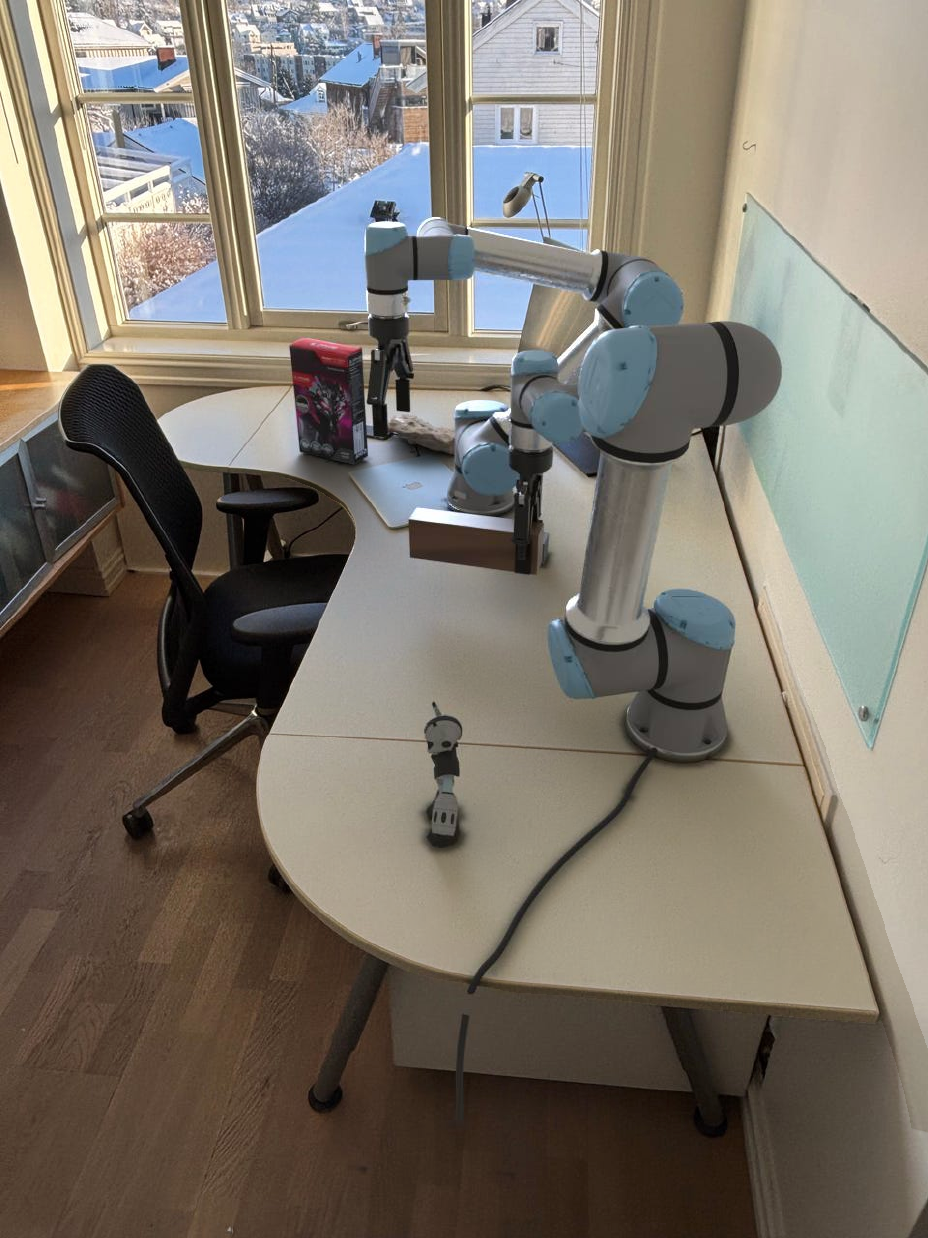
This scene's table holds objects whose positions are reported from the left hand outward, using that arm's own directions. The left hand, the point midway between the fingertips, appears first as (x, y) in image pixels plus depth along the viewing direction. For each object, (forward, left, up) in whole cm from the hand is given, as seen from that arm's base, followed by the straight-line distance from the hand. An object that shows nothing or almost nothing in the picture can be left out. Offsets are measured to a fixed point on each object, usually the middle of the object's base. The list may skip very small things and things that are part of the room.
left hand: (392, 423), depth 181 cm
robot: (+77, +33, -25) cm, 87 cm away
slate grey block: (+2, +30, -25) cm, 39 cm away
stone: (-47, -9, -25) cm, 54 cm away
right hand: (+19, +32, -16) cm, 41 cm away
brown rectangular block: (+19, +22, -17) cm, 34 cm away
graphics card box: (-34, -28, -25) cm, 50 cm away
